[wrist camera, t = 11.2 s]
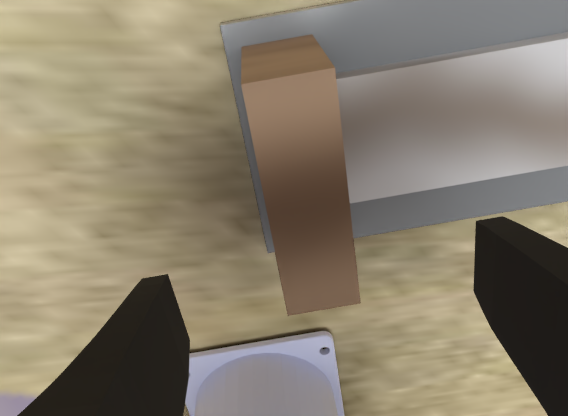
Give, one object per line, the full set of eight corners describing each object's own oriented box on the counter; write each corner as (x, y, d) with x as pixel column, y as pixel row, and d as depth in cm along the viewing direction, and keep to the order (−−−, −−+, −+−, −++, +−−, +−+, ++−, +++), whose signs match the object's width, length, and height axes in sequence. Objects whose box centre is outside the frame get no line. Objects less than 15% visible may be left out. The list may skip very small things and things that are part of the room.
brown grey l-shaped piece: (564, 187, 21) (647, 253, 17) (278, 237, 21) (287, 315, 17) (589, -16, 17) (706, 1, 13) (241, 46, 18) (240, 84, 13)
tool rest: (569, 193, 22) (577, 199, 22) (267, 245, 22) (268, 253, 22) (601, -46, 18) (612, -45, 17) (220, 22, 18) (219, 25, 17)
